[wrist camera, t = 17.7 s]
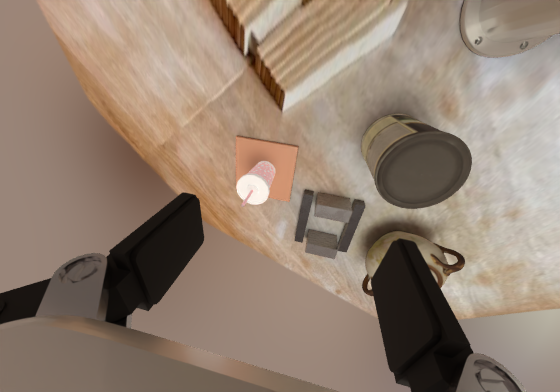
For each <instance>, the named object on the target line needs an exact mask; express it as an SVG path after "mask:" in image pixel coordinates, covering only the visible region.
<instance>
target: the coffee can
mask: <svg viewBox="0 0 560 392" xmlns="http://www.w3.org/2000/svg"><path fill="white" fill-rule="evenodd" d="M361 152H362V155H363V157H364V159H365V161H366V163H367V165H368V167H369V170H370V172H371V174H372V176H373V178H374V181H375V185H376V188H377V190H378V192H379V194H380V195H381V196H382V197H383V198H384V199H385V200H386V201H387V202H389V203H391V204H393V205H395V206H398V207H401V208H408V209H417V208H424V207H429V206H432V205H435V204H438V203H440V202H442V201H444V200H446V199H447V198H449V197H450V196H452V195H453V194H454V193H455V192H456V191H458V190H459V189H460V188H461V186H462V185H463V184H464V183H465V181H466V180H467V178H468V176H469V173H470V170H471V165H472V157H471V153H470V150H469V148H468V147H467V145H466V144H465V143H464V142H463V141H462V140H461V139H460V138H458V137H456V136H454V135H452V134H449V133H446V132H443V131H440V130H438V129H436V128H434V127H431V126H429V125H427V124H425V123H423V122H421V121H418V120H416V119H415V118H413V117H411V116H409V115H406V114H391V115H387V116H384V117H382V118H380V119H378V120H377V121H375V122H374V123H373V124H372V125H371V126H370V127H369V128H368V129H367V130H366V132H365V134H364V136H363V139H362V143H361Z"/></svg>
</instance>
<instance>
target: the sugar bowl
mask: <svg viewBox="0 0 560 392" xmlns="http://www.w3.org/2000/svg"><path fill="white" fill-rule="evenodd" d="M399 238H401V239H406V240H411V241H414V242H415V243H416V244H417V246H418V248H419V250H420V252H421V254H422V256H423V257H424V259H425V261H426V263H427V265H428V267H429V269H430V270H431V272H432V274H433V276H434V278H435V280H436V282H437V284H438V285H439V287H440V288H441V287H442V285H443V284H444V283H445V281H446V279H447V277H448V276H449V275H450V273H453V272H456V271H459V270H461V269H462V268H463V267H464V264H465V259H464V257H463V256H462V255H461V254H460V253H458V252H456V251H454V250H451V249H447V248H444V247H442V246H439V245H437V244H435V243H432V242H430V241H429V240H427V239H425V238H423V237H420V236H418V235H414V234H410V233H406V232H403V231H393V232H389V233H387V234H385V235H383V236H382V237H381V238H380V239H379V240H378V241H376V242H375V243H374V245H373V246H372V247H371V248H370V250H369V251H368V253H367V256H366V262H365V265H366V270H367V275H366V277H365V278H364V281H363V284H362V288H363V291H364V292H365V293H366V294H367V295H370V296H373V291H372V290H368V289H367V284H368V282H369V280H370V278H371V280H372V277H373V275H374V273H375V272H376V270H377V268H378V266H379V265H380V263H381V261H382V259H383V257H384V256H385V254H386V252H387V250H388V249H389V247H390V245H391V243H392V242H393V241H397V239H399ZM444 253H449V254H452V255H454V256H456V257H457V259H458V262H457V263H455V264H453V265H448V262H447V260H446V257H445V255H444Z"/></svg>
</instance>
